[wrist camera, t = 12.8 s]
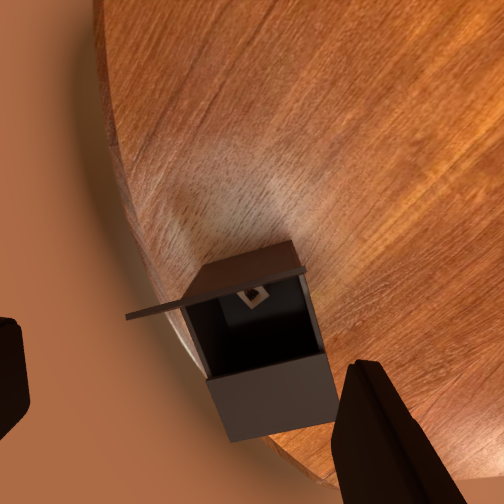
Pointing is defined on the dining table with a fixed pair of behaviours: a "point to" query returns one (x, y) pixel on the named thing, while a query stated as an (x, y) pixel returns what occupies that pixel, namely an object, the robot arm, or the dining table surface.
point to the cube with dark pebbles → (255, 295)
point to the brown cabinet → (261, 347)
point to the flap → (219, 292)
